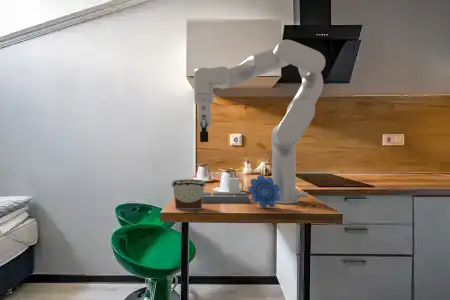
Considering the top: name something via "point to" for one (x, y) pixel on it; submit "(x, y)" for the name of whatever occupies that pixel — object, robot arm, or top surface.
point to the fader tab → (233, 186)
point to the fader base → (225, 197)
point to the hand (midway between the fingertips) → (204, 142)
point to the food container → (188, 193)
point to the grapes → (264, 191)
